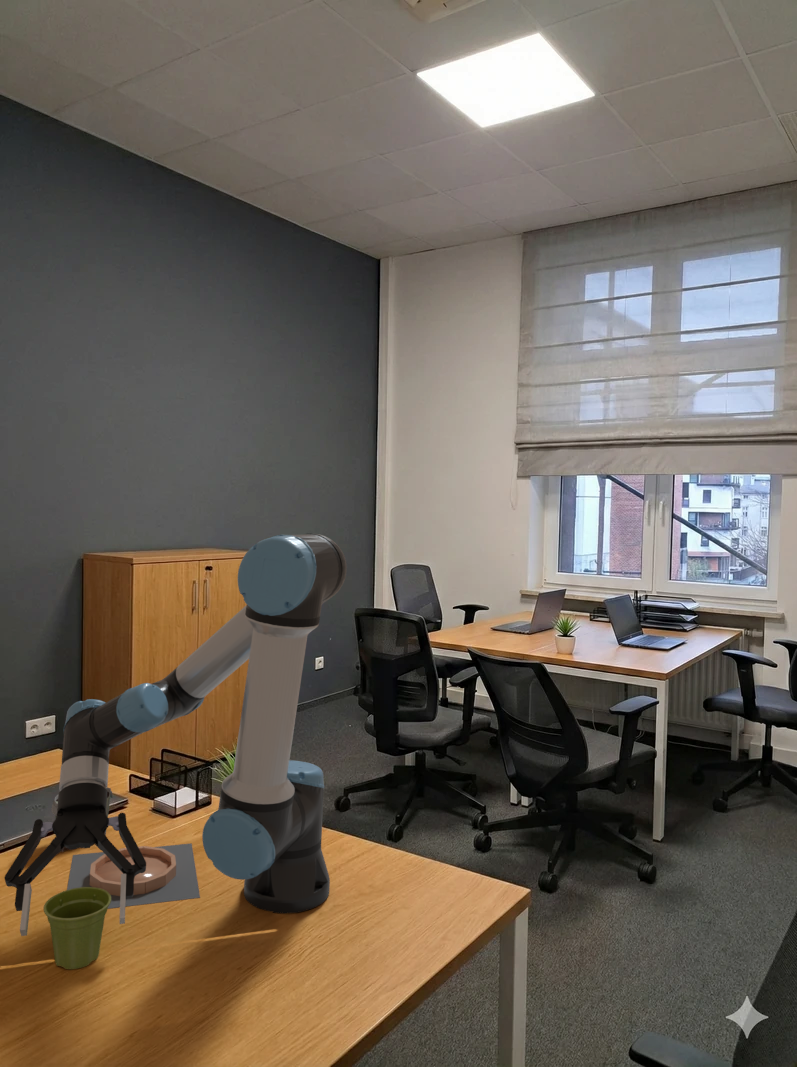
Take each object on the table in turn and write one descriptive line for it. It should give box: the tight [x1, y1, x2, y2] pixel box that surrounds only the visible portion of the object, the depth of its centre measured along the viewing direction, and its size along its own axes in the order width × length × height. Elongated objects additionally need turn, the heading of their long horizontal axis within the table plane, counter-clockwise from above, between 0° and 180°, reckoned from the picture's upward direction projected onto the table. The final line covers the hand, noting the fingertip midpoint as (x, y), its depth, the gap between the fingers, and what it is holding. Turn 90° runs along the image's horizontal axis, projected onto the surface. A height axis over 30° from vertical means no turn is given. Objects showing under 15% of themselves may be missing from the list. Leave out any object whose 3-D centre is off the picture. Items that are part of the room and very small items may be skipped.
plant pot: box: [43, 887, 111, 970], centre depth 118 cm, size 9×9×9 cm
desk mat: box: [66, 843, 201, 910], centre depth 143 cm, size 22×22×1 cm
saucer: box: [90, 845, 176, 896], centre depth 143 cm, size 15×15×2 cm
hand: (73, 927), depth 117 cm, fingers open, 13 cm apart
